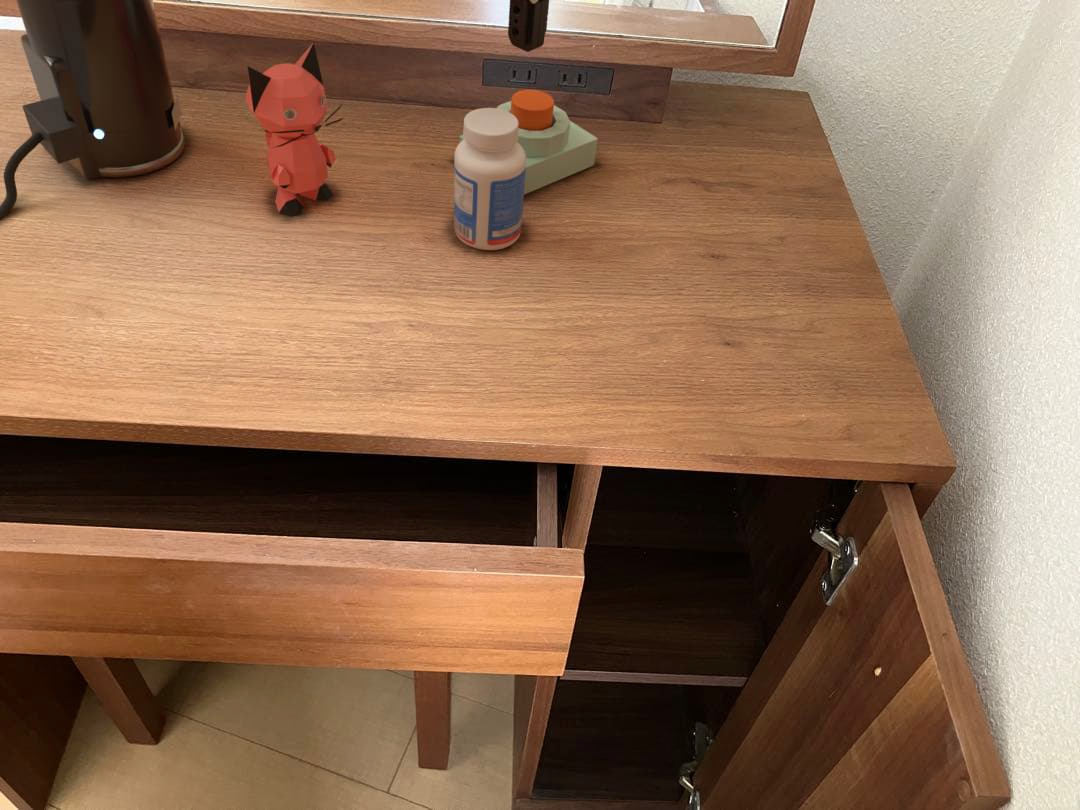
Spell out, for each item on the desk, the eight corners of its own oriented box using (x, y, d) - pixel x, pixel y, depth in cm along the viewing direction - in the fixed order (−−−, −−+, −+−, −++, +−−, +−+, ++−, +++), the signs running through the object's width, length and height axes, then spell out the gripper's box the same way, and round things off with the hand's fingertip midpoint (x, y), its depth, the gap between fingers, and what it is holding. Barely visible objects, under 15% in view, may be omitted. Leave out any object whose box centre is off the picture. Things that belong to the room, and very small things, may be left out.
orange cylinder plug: (529, 137, 75) (531, 114, 73) (501, 118, 77) (502, 96, 75) (560, 125, 77) (563, 103, 75) (532, 107, 78) (534, 85, 77)
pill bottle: (524, 217, 74) (534, 108, 67) (516, 256, 70) (526, 144, 63) (458, 208, 74) (461, 98, 67) (447, 247, 70) (449, 134, 63)
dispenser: (509, 200, 75) (513, 153, 72) (458, 163, 79) (459, 116, 76) (594, 165, 81) (601, 119, 77) (542, 131, 84) (547, 86, 81)
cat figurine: (291, 232, 70) (272, 87, 61) (236, 195, 72) (210, 51, 64) (360, 197, 74) (351, 56, 65) (305, 163, 76) (289, 24, 68)
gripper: (566, -253, 61) (543, 6, 73) (427, -231, 53) (428, 54, 65) (657, -227, 58) (617, 38, 70) (523, -200, 50) (505, 92, 63)
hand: (526, 45), depth 68 cm, fingers closed
